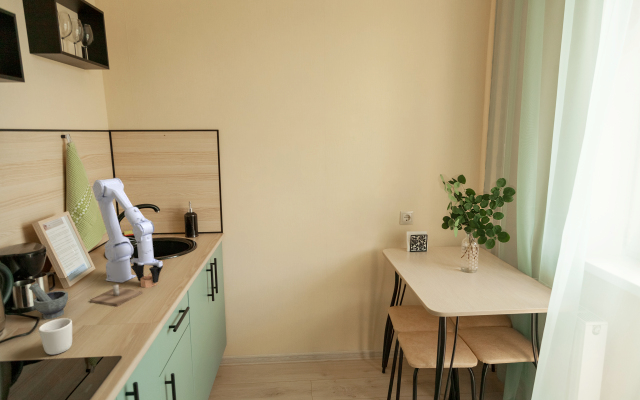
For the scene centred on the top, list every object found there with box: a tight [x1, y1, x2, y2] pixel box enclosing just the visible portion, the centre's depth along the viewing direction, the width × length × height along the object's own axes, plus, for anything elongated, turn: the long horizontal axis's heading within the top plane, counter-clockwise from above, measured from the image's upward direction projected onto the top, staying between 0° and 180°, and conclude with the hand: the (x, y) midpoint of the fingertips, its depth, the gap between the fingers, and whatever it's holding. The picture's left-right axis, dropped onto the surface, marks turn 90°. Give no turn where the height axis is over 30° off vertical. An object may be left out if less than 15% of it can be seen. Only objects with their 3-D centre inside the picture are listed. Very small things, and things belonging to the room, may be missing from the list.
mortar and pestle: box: [28, 282, 69, 320], centre depth 130 cm, size 11×9×12 cm
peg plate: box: [89, 283, 143, 307], centre depth 144 cm, size 13×12×5 cm
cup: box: [38, 317, 73, 355], centre depth 110 cm, size 11×8×8 cm
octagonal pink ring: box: [140, 274, 157, 289], centre depth 157 cm, size 6×6×3 cm
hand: (148, 281), depth 157 cm, fingers open, 7 cm apart
